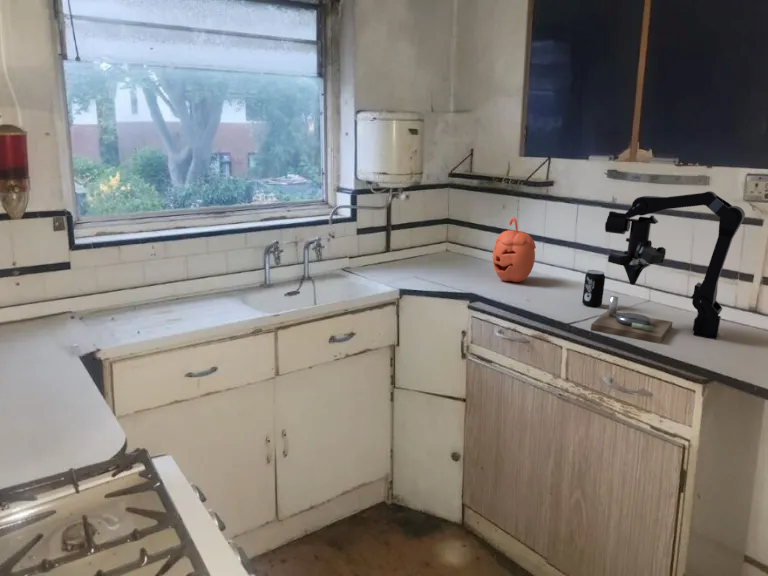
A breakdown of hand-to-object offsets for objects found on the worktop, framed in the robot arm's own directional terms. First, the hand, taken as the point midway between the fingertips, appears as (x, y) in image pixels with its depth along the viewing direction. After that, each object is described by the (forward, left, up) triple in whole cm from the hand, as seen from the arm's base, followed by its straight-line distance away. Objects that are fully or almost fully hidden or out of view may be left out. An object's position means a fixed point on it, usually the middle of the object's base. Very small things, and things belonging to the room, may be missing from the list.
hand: (632, 284), depth 217 cm
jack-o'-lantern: (+51, -28, -12) cm, 59 cm away
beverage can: (+15, -11, -12) cm, 22 cm away
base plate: (-3, +10, -12) cm, 16 cm away
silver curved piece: (-2, +9, -10) cm, 13 cm away
